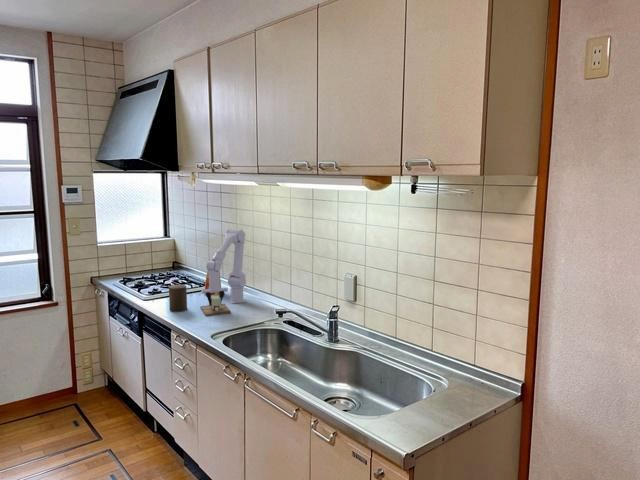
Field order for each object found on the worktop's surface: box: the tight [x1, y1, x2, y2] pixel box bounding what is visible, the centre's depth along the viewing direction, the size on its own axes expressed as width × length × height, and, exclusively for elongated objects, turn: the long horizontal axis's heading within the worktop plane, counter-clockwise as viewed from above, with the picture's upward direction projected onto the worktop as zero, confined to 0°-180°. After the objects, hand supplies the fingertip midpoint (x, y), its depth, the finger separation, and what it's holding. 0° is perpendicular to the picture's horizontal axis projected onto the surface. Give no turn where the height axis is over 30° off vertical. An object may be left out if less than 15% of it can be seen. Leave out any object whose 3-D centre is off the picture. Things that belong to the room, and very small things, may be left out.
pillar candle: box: [168, 284, 188, 313], centre depth 276 cm, size 10×10×15 cm
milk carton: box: [203, 270, 222, 297], centre depth 308 cm, size 9×9×20 cm
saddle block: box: [210, 295, 222, 310], centre depth 275 cm, size 6×5×6 cm
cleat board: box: [200, 303, 232, 317], centre depth 275 cm, size 16×14×3 cm
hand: (215, 304), depth 275 cm, fingers closed on saddle block, 5 cm apart
